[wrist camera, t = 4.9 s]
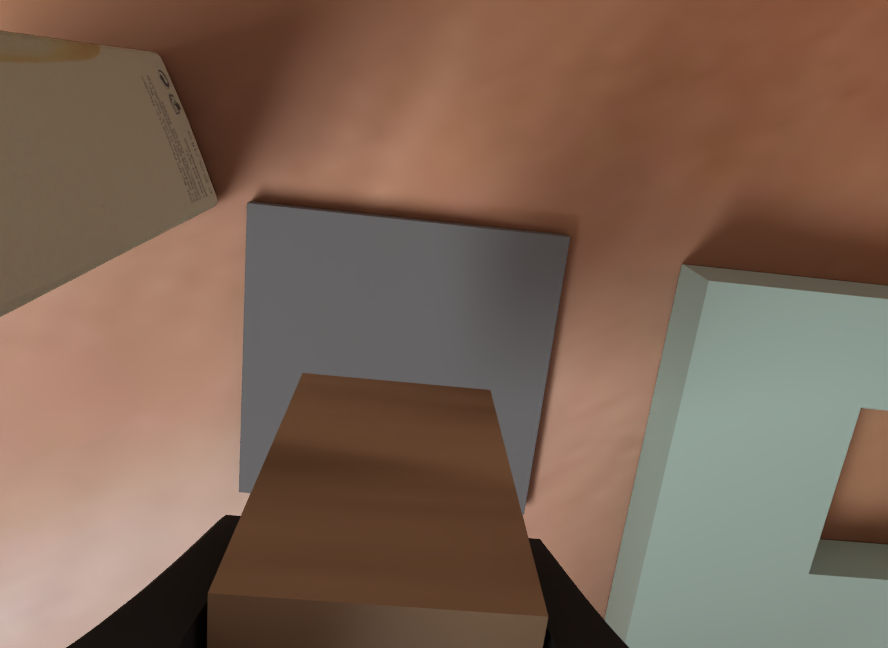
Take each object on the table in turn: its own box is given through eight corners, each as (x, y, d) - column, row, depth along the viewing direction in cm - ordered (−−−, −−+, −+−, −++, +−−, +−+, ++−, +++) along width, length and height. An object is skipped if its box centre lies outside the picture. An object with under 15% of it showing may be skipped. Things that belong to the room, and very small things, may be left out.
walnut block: (467, 549, 16) (502, 860, 10) (293, 536, 16) (203, 847, 9) (490, 389, 15) (548, 616, 8) (302, 372, 15) (207, 592, 8)
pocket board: (954, 719, 26) (997, 767, 24) (587, 696, 25) (601, 745, 23) (1125, 310, 21) (1194, 330, 20) (682, 263, 21) (709, 280, 19)
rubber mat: (522, 507, 23) (523, 514, 22) (242, 485, 22) (239, 492, 22) (567, 234, 20) (570, 237, 20) (250, 200, 20) (247, 202, 19)
